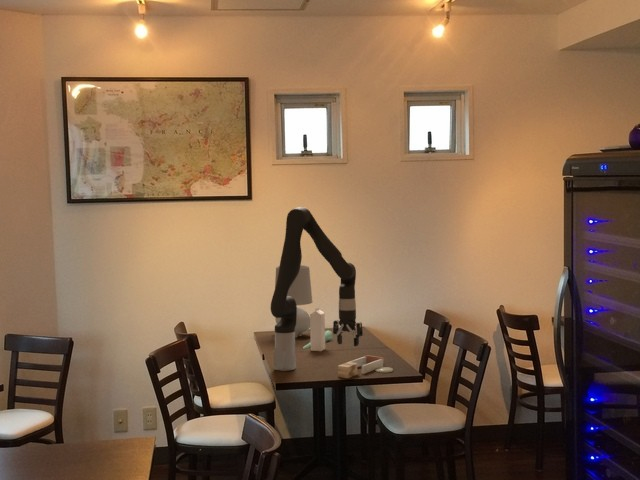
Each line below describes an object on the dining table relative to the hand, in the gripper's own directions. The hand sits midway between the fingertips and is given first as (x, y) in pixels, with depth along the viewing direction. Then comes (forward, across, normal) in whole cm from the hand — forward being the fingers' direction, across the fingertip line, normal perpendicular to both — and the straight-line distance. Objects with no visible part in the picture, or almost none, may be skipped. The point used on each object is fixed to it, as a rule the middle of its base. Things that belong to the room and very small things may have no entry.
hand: (347, 344), depth 309 cm
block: (+13, -1, +1) cm, 13 cm away
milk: (+13, +42, -32) cm, 55 cm away
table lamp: (+13, +76, -53) cm, 94 cm away
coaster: (+13, -9, -15) cm, 22 cm away
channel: (+13, 0, -13) cm, 19 cm away
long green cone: (+14, +51, -43) cm, 68 cm away
